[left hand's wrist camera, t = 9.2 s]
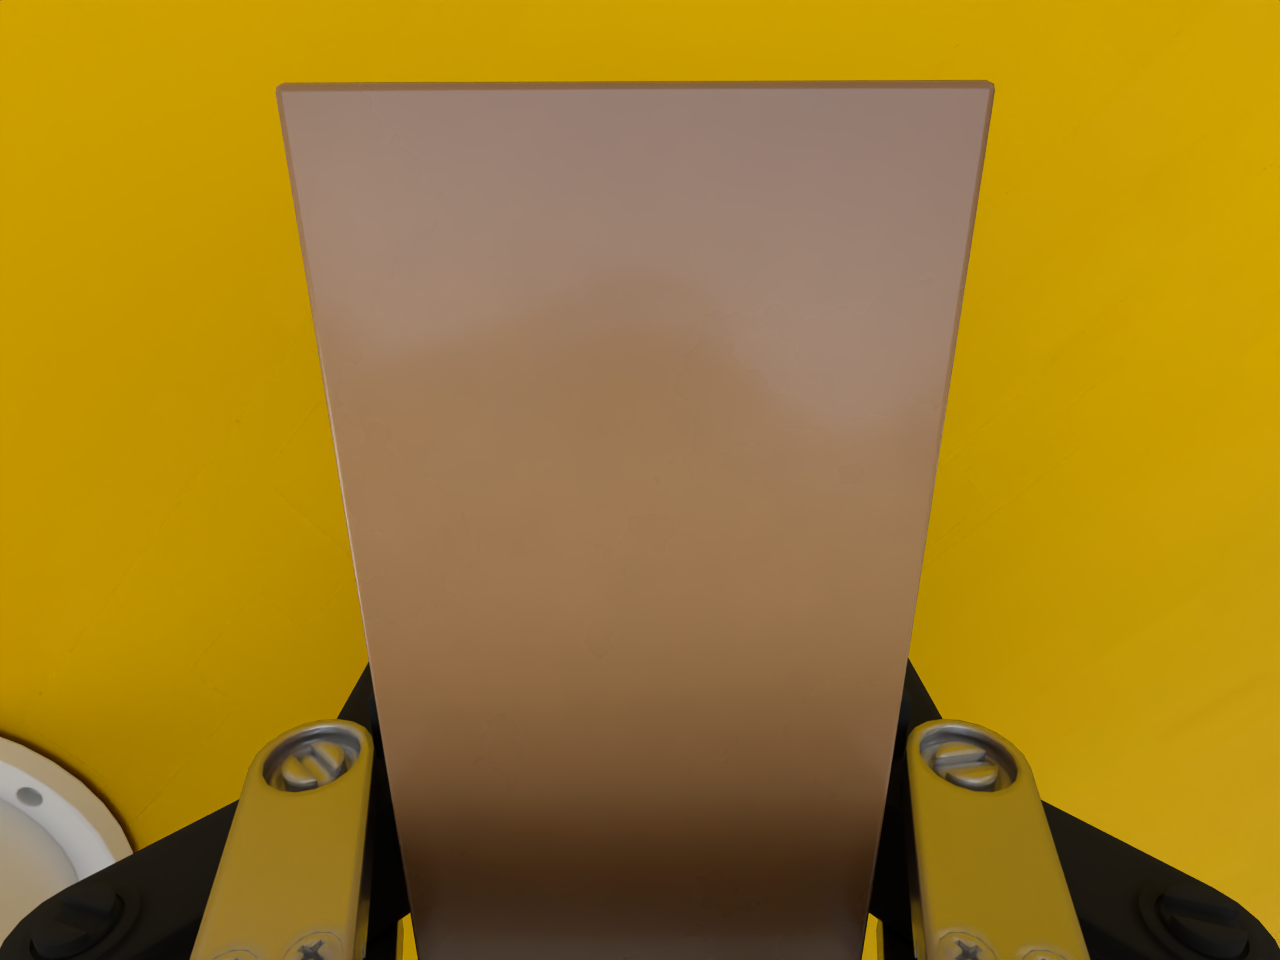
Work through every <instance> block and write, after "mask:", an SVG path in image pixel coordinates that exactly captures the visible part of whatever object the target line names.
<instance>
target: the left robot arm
mask: <svg viewBox="0 0 1280 960" xmlns="http://www.w3.org/2000/svg"><path fill="white" fill-rule="evenodd" d="M409 913H410V907H409V901H408V895H407V889H406V883H405V877H404V871H403V865H402V859H401V852H400V846H399V840H398V834H397V828H396V822H395V816H394V810H393V804H392V798H391V792H390V786H389V779H388V773H387V767H386V761H385V755H384V749H383V743H382V737H381V731H380V725H379V719H378V712H377V706H376V700H375V694H374V688H373V682H372V676H371V670H370V664H369V663H368V664H367V666H366V668H365V670H364V671H363V673H362V675H361V677H360V679H359V680H358V682H357V684H356V686H355V687H354V689H353V691H352V693H351V695H350V696H349V698H348V700H347V702H346V703H345V705H344V707H343V709H342V711H341V712H340V714H339V716H338V718H337V719H331V720H319V721H315V722H311V723H307V724H303V725H300V726H298V727H295V728H293V729H291V730H288V731H286V732H284V733H282V734H281V735H279V736H278V737H276V738H275V739H273V740H272V741H270V742H269V743H268V744H267V745H266V746H265V747H264V748H263V749H262V750H261V751H260V752H259V753H258V754H257V755H256V756H255V758H254V760H253V762H252V764H251V766H250V767H249V770H248V773H247V777H246V780H245V783H244V786H243V790H242V793H241V796H240V799H239V800H237V801H235V802H233V803H231V804H229V805H227V806H225V807H223V808H221V809H219V810H217V811H215V812H214V813H212V814H210V815H208V816H206V817H204V818H202V819H200V820H198V821H196V822H194V823H192V824H190V825H188V826H186V827H184V828H182V829H180V830H178V831H176V832H174V833H172V834H171V835H169V836H167V837H165V838H163V839H161V840H159V841H157V842H155V843H153V844H151V845H149V846H147V847H145V848H143V849H141V850H139V851H137V852H135V853H133V851H132V849H131V847H130V845H129V843H128V841H127V838H126V836H125V834H124V832H123V830H122V828H121V826H120V825H119V823H118V822H117V821H116V819H115V818H114V817H113V815H112V814H111V813H110V811H109V810H108V809H107V807H106V806H105V805H104V803H103V802H102V801H101V800H100V799H99V798H98V797H97V796H96V795H95V794H93V793H92V792H91V791H90V790H89V789H88V788H87V787H86V786H85V785H84V784H83V783H82V782H81V781H80V780H78V779H77V778H76V777H74V776H73V775H71V774H70V773H69V772H67V771H66V770H64V769H63V768H62V767H60V766H59V765H57V764H56V763H55V762H53V761H51V760H49V759H48V758H46V757H44V756H42V755H40V754H38V753H36V752H34V751H33V750H31V749H29V748H27V747H25V746H23V745H21V744H18V743H16V742H13V741H10V740H8V739H5V738H2V737H0V960H402V959H403V932H404V929H403V923H402V918H403V917H405V916H406V915H407V914H409ZM869 913H871V914H872V915H873V916H875V917H876V918H878V923H877V929H876V932H877V959H878V960H1280V949H1279V947H1278V945H1277V943H1276V941H1275V939H1274V938H1273V937H1272V936H1271V935H1270V933H1269V932H1268V931H1267V930H1266V929H1265V927H1264V926H1263V925H1262V924H1261V923H1260V921H1259V920H1258V919H1256V918H1255V917H1254V916H1253V915H1252V914H1250V913H1249V912H1248V911H1247V910H1246V909H1244V908H1243V907H1242V906H1241V905H1240V904H1239V903H1237V902H1236V901H1234V900H1232V899H1231V898H1229V897H1228V896H1226V895H1224V894H1223V893H1221V892H1219V891H1218V890H1216V889H1214V888H1213V887H1211V886H1209V885H1207V884H1205V883H1203V882H1201V881H1199V880H1197V879H1195V878H1193V877H1191V876H1189V875H1187V874H1185V873H1183V872H1181V871H1179V870H1177V869H1175V868H1174V867H1172V866H1170V865H1168V864H1166V863H1164V862H1162V861H1160V860H1158V859H1156V858H1154V857H1152V856H1150V855H1148V854H1146V853H1144V852H1142V851H1140V850H1138V849H1136V848H1134V847H1132V846H1131V845H1129V844H1127V843H1125V842H1123V841H1121V840H1119V839H1117V838H1115V837H1113V836H1111V835H1109V834H1107V833H1105V832H1103V831H1101V830H1099V829H1097V828H1095V827H1093V826H1091V825H1089V824H1087V823H1086V822H1084V821H1082V820H1080V819H1078V818H1076V817H1074V816H1072V815H1070V814H1068V813H1066V812H1064V811H1062V810H1060V809H1058V808H1056V807H1054V806H1052V805H1050V804H1048V803H1046V802H1044V801H1043V800H1041V799H1040V796H1039V793H1038V790H1037V786H1036V783H1035V780H1034V777H1033V773H1032V770H1031V767H1030V766H1029V764H1028V762H1027V760H1026V758H1025V756H1024V755H1023V754H1022V753H1021V752H1020V751H1019V750H1018V749H1017V748H1016V747H1015V746H1014V745H1013V744H1012V743H1011V742H1010V741H1008V740H1007V739H1005V738H1004V737H1002V736H1001V735H999V734H998V733H996V732H994V731H992V730H989V729H987V728H985V727H982V726H980V725H977V724H973V723H969V722H965V721H961V720H949V719H942V717H941V715H940V713H939V712H938V710H937V708H936V706H935V705H934V703H933V701H932V699H931V697H930V696H929V694H928V692H927V690H926V689H925V687H924V685H923V683H922V681H921V680H920V678H919V676H918V674H917V673H916V671H915V669H914V667H913V665H912V664H911V662H910V660H909V658H908V660H907V666H906V673H905V679H904V686H903V692H902V699H901V705H900V712H899V718H898V725H897V732H896V738H895V745H894V751H893V758H892V764H891V771H890V777H889V784H888V790H887V797H886V803H885V810H884V816H883V823H882V829H881V836H880V842H879V849H878V855H877V862H876V868H875V875H874V881H873V888H872V894H871V901H870V907H869Z"/></svg>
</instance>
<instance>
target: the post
mask: <svg viewBox="0 0 1280 960" xmlns="http://www.w3.org/2000/svg"><path fill="white" fill-rule="evenodd" d="M994 93H995V88H994V84H993V83H991V82H989V81H987V80H856V81H606V82H356V83H283V84H281V85H279V86H277V88H276V98H277V104H278V110H279V116H280V122H281V128H282V134H283V140H284V146H285V152H286V158H287V165H288V171H289V177H290V183H291V189H292V195H293V201H294V207H295V213H296V219H297V225H298V231H299V238H300V244H301V250H302V256H303V262H304V268H305V274H306V280H307V286H308V292H309V298H310V305H311V311H312V317H313V323H314V329H315V335H316V341H317V347H318V353H319V359H320V365H321V372H322V378H323V384H324V390H325V396H326V402H327V408H328V414H329V420H330V426H331V432H332V438H333V445H334V451H335V457H336V463H337V469H338V475H339V481H340V487H341V493H342V499H343V505H344V512H345V518H346V524H347V530H348V536H349V542H350V548H351V554H352V560H353V566H354V572H355V579H356V585H357V591H358V597H359V603H360V609H361V615H362V621H363V627H364V633H365V639H366V645H367V652H368V658H369V664H370V670H371V676H372V682H373V688H374V694H375V700H376V706H377V712H378V719H379V725H380V731H381V737H382V743H383V749H384V755H385V761H386V767H387V773H388V779H389V786H390V792H391V798H392V804H393V810H394V816H395V822H396V828H397V834H398V840H399V846H400V852H401V859H402V865H403V871H404V877H405V883H406V889H407V895H408V901H409V907H410V913H411V919H412V926H413V932H414V938H415V944H416V950H417V956H418V960H862V953H863V947H864V940H865V934H866V927H867V920H868V914H869V907H870V901H871V894H872V888H873V881H874V875H875V868H876V862H877V855H878V849H879V842H880V836H881V829H882V823H883V816H884V810H885V803H886V797H887V790H888V784H889V777H890V771H891V764H892V758H893V751H894V745H895V738H896V732H897V725H898V718H899V712H900V705H901V699H902V692H903V686H904V679H905V673H906V666H907V660H908V653H909V647H910V640H911V634H912V627H913V621H914V614H915V608H916V601H917V595H918V588H919V582H920V575H921V569H922V562H923V556H924V549H925V543H926V536H927V530H928V523H929V517H930V510H931V503H932V497H933V490H934V484H935V477H936V471H937V464H938V458H939V451H940V445H941V438H942V432H943V425H944V419H945V412H946V406H947V399H948V393H949V386H950V380H951V373H952V367H953V360H954V354H955V347H956V341H957V334H958V328H959V321H960V315H961V308H962V301H963V295H964V288H965V282H966V275H967V269H968V262H969V256H970V249H971V243H972V236H973V230H974V223H975V217H976V210H977V204H978V197H979V191H980V184H981V178H982V171H983V165H984V158H985V152H986V145H987V139H988V132H989V126H990V119H991V113H992V106H993V99H994Z"/></svg>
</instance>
